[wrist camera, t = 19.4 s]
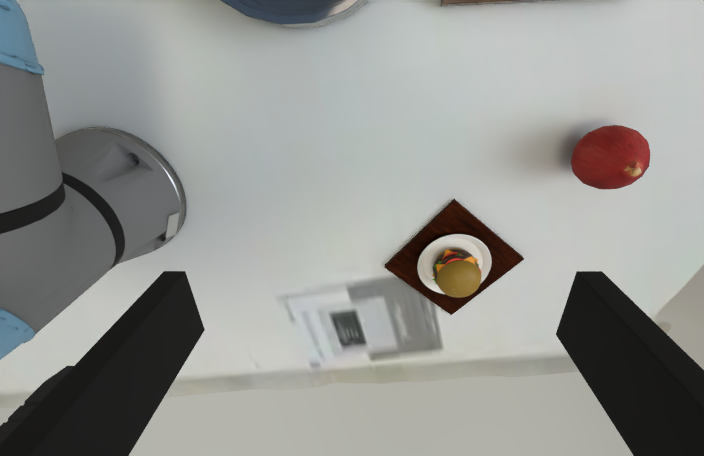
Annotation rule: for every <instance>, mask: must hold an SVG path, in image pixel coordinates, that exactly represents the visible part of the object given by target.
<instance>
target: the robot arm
mask: <svg viewBox="0 0 704 456" xmlns="http://www.w3.org/2000/svg"><path fill="white" fill-rule="evenodd" d="M41 75H44V69H43V67H42V66H41V65H40V64H39V63H38V59H37V55H36V52H35V48H34V45H33V41H32V37H31V34H30V30H29V26H28V23H27V19H26V16H25V14H24V12H23V10H22V8H21V7H20V5H19V4H18V3H17V1H16V0H0V360H1V359H2V358H3V357H5V356H6V355H7V354H8V353H10V352H11V351H12V350H14V349H15V348H16V347H18V346H19V345H20V344H22V343H25V342H27V341H30V340H31V339H32V338H33V337H34V336H35V334H36V333H37V332H39V331H40V330H41V329H42V328H43V327H44V326H45V325H47V324H48V323H49V322H50V321H51V320H52V319H54V318H55V317H56V316H57V315H58V314H59V313H61V312H62V311H63V310H64V309H65V308H66V307H68V306H69V305H70V304H71V303H72V302H73V301H74V300H76V299H77V298H78V297H79V296H80V295H81V294H83V293H84V292H85V291H86V290H87V289H88V288H90V287H91V286H92V285H93V284H94V283H95V282H97V281H98V280H99V279H100V278H101V277H102V276H103V275H105V274H106V273H107V272H108V271H109V270H110V269H112V268H113V267H114V266H115V265H117V264H119V263H122V262H124V261H127V260H130V259H133V258H136V257H138V256H141V255H144V254H147V253H150V252H152V251H155V250H156V249H158V248H160V247H162V246H163V245H165V244H166V243H167V242H169V241H170V240H171V239H172V238H173V237H174V236H175V235H176V234H177V233H178V232H179V230H180V229H181V227H182V225H183V222H184V219H185V215H186V200H185V195H184V191H183V188H182V185H181V183H180V181H179V179H178V177H177V175H176V173H175V172H174V170H173V169H172V167H171V166H170V165H169V163H168V162H167V161H166V160H165V159H164V158H163V157H162V156H161V155H160V154H159V153H158V152H157V151H156V150H155V149H154V148H152V147H151V146H150V145H148V144H147V143H145V142H144V141H142V140H141V139H139V138H137V137H135V136H133V135H131V134H129V133H126V132H124V131H120V130H117V129H112V128H106V127H92V128H86V129H82V130H78V131H75V132H72V133H69V134H67V135H65V136H63V137H61V138H60V139H58V140H56V141H55V139H54V134H53V130H52V125H51V120H50V116H49V111H48V106H47V101H46V97H45V92H44V87H43V81H42V76H41ZM203 331H204V327H203V324H202V321H201V318H200V315H199V312H198V309H197V306H196V303H195V300H194V297H193V294H192V291H191V288H190V285H189V282H188V279H187V276H186V273H185V271H164V272H163V273H162V274H161V275H160V276H159V277H158V278H157V279H156V280H155V282H154V283H153V284H152V285H151V286H150V287H149V288H148V289H147V290H146V291H145V292H144V293H143V294H142V295H141V296H140V297H139V298H138V299H137V301H136V302H135V303H134V304H133V305H132V306H131V307H130V308H129V309H128V310H127V311H126V312H125V313H124V314H123V315H122V316H121V317H120V318H119V320H118V321H117V322H116V323H115V324H114V325H113V326H112V327H111V328H110V329H109V330H108V331H107V332H106V333H105V334H104V335H103V336H102V337H101V339H100V340H99V341H98V342H97V343H96V344H95V345H94V346H93V347H92V348H91V349H90V350H89V351H88V352H87V353H86V354H85V355H84V356H83V358H82V359H81V360H80V361H79V362H78V363H77V364H76V365H75V366H67V367H65V368H64V369H62V370H61V371H59V372H58V373H57V374H55V375H54V376H52V377H51V378H49V379H48V380H46V381H45V382H44V383H43V384H42V385H41V386H40V387H39V388H38V389H37V390H36V391H35V392H34V393H33V394H32V395H31V396H30V397H29V398H28V399H27V400H26V401H25V404H24V405H23V406H20V407H19V408H18V409H17V410H16V411H15V412H14V413H13V414H12V415H11V416H10V417H9V418H8V421H7V422H6V423H3V424H2V425H1V426H0V456H128V455H129V453H130V452H131V450H132V449H133V447H134V446H135V444H136V442H137V441H138V439H139V437H140V436H141V434H142V432H143V431H144V429H145V427H146V426H147V424H148V422H149V421H150V419H151V417H152V416H153V414H154V412H155V411H156V409H157V407H158V406H159V404H160V403H161V401H162V399H163V398H164V396H165V394H166V393H167V391H168V389H169V388H170V386H171V384H172V383H173V381H174V379H175V378H176V376H177V374H178V373H179V371H180V370H181V368H182V366H183V365H184V363H185V361H186V360H187V358H188V356H189V355H190V353H191V351H192V350H193V348H194V346H195V345H196V343H197V341H198V340H199V338H200V336H201V335H202V333H203ZM556 335H557V337H558V338H559V340H560V341H561V343H562V345H563V346H564V348H565V349H566V351H567V352H568V354H569V355H570V357H571V359H572V360H573V362H574V363H575V365H576V366H577V368H578V369H579V371H580V373H581V374H582V376H583V377H584V379H585V380H586V382H587V383H588V385H589V386H590V388H591V389H592V391H593V393H594V394H595V396H596V397H597V399H598V401H599V402H600V404H601V405H602V407H603V408H604V410H605V411H606V413H607V415H608V416H609V418H610V419H611V421H612V422H613V424H614V425H615V427H616V429H617V430H618V432H619V433H620V435H621V436H622V438H623V440H624V441H625V443H626V444H627V446H628V447H629V449H630V450H631V452H632V453H633V455H634V456H704V370H703V369H702V368H701V367H700V366H699V365H698V364H697V363H696V362H694V360H693V359H691V358H690V357H689V356H688V355H687V354H686V353H685V352H684V351H683V350H682V349H681V348H680V347H679V346H678V345H677V344H676V343H675V342H674V341H673V340H672V339H671V338H670V337H669V336H667V334H666V333H665V332H664V331H663V330H662V329H661V328H660V327H659V326H657V325H656V324H655V323H654V322H653V321H652V320H651V319H650V318H649V317H648V316H647V315H646V314H645V313H644V312H643V311H642V310H641V309H640V308H639V307H638V306H637V305H636V304H635V303H634V302H633V301H632V300H631V299H630V298H629V297H628V296H627V295H625V294H624V293H623V292H622V291H621V290H620V289H619V288H618V287H617V286H616V285H615V284H614V283H613V282H612V281H611V280H610V279H609V278H608V277H607V276H606V275H605V274H604V273H603V272H577V273H576V276H575V279H574V282H573V285H572V288H571V291H570V294H569V297H568V300H567V303H566V306H565V309H564V312H563V315H562V318H561V321H560V324H559V327H558V330H557V333H556Z"/></svg>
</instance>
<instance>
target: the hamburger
mask: <svg viewBox="0 0 704 456" xmlns="http://www.w3.org/2000/svg"><path fill="white" fill-rule="evenodd" d="M522 260H524V258H523V257H522V256H521V255H520V254H519V253H518V252H516V251H515V250H514V249H513V248H512V247H510V246H509V245H508V244H507V243H506V242H504V241H503V240H502V239H501V238H500V237H499V236H497V235H496V234H495V233H494V232H493V231H491V230H490V229H489V228H488V227H487V226H486V225H484V224H483V223H482V222H481V221H480V220H478V219H477V218H476V217H475V216H474V215H473V214H471V213H470V212H469V211H468V210H467V209H465V208H464V207H463V206H462V205H461V204H459V203H458V202H457V201H456V200H455V199H454V200H453V201H452V202H451V203H450V204H449V205H448V206H447V207H446V208H444V209H443V210H442V211H441V212H440V213H439V214H438V215H437V216H436V217H435V218H434V219H433V220H432V221H431V222H430V223H429V224H428V225H427V226H426V227H424V228H423V229H422V230H421V231H420V232H419V233H418V234H417V235H416V236H415V237H414V238H413V239H412V240H411V241H410V242H409V243H408V244H407V245H406V246H404V247H403V248H402V249H401V250H400V251H399V252H398V253H397V254H396V255H395V256H394V257H393V258H392V259H391V260H390V261H389V262H388V263H387V264H386V265H385V268H387V269H388V270H389V271H391V272H392V273H394V274H395V275H396V276H398V277H399V278H401V279H402V280H403V281H405V282H406V283H407V284H409V285H410V286H412V287H413V288H414V289H416V290H417V291H419V292H420V293H421V294H423V295H424V296H426V297H427V298H428V299H430V300H431V301H433V302H434V303H435V304H437V305H438V306H440V307H441V308H442V309H444V310H445V311H447V312H448V313H449V314H451V315H452V314H453V313H454V312H456V311H457V310H458V309H460V308H461V307H462V306H464V305H465V304H466V303H468V302H469V301H470V300H471V299H473V298H474V297H475V296H477V295H478V294H479V293H481V292H482V291H483V290H484V289H486V288H487V287H488V286H490V285H491V284H492V283H494V282H495V281H496V280H497V279H499V278H500V277H501V276H503V275H504V274H505V273H507V272H508V271H509V270H511V269H512V268H513V267H514V266H516V265H517V264H518V263H520V262H521V261H522Z"/></svg>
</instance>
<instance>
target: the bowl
mask: <svg viewBox="0 0 704 456" xmlns="http://www.w3.org/2000/svg"><path fill="white" fill-rule="evenodd" d="M221 1H222V2H224V3H226V4H227V5H229V6H231V7H233V8H234V9H236V10H238V11H239V12H241V13H243V14H245V15H246V16H249V17H252V18H256V19H260V20H263V21H267V22H271V23H275V24H279V25H283V26H286V27H290V28H304V27H321V26H324V25H327V24H330V23H332V22H335V21H338V20H340V19H343V18H346V17H348V16H350V15H351V14H353V13H354V12H355V11H357V10H358V9H359V8H361V7H362V6H363V5H365V4H366V3H367V2H369V1H370V0H221Z"/></svg>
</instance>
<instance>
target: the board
mask: <svg viewBox="0 0 704 456" xmlns="http://www.w3.org/2000/svg"><path fill="white" fill-rule="evenodd" d="M534 1H553V0H441V4H440V6H459V5H478V4H497V3H515V2H534Z"/></svg>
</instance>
